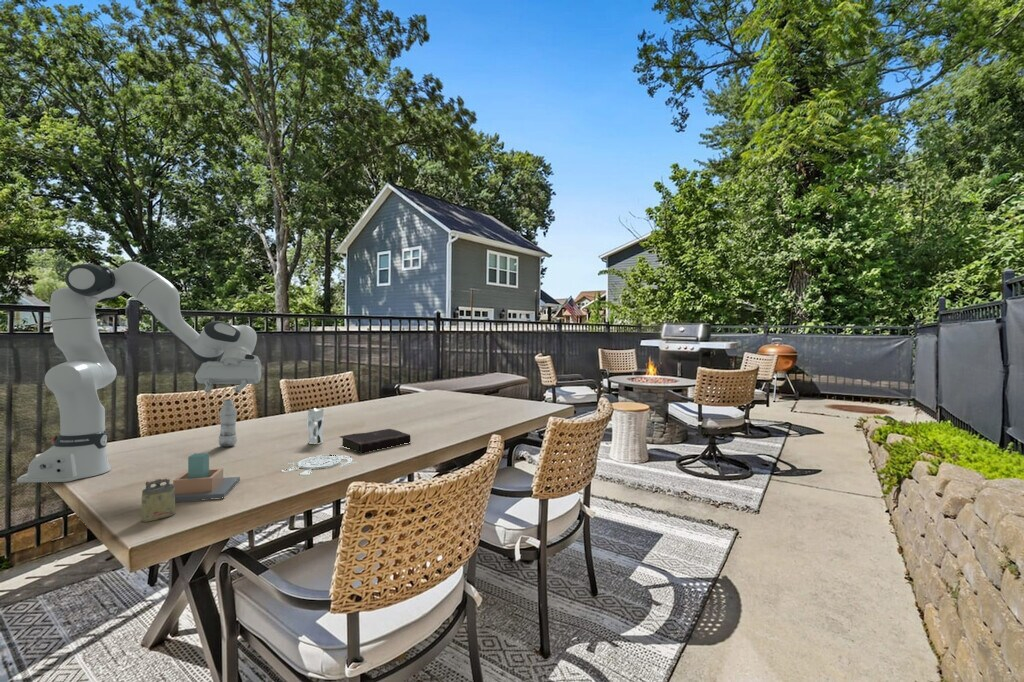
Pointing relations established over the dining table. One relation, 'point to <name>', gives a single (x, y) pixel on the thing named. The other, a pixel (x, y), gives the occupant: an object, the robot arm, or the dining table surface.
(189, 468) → the peg
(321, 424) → the beer glass
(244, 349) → the robot arm
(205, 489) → the holder
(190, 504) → the dining table surface
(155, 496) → the green boxy piece
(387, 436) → the diary
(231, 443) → the plastic bottle
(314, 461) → the pendant
